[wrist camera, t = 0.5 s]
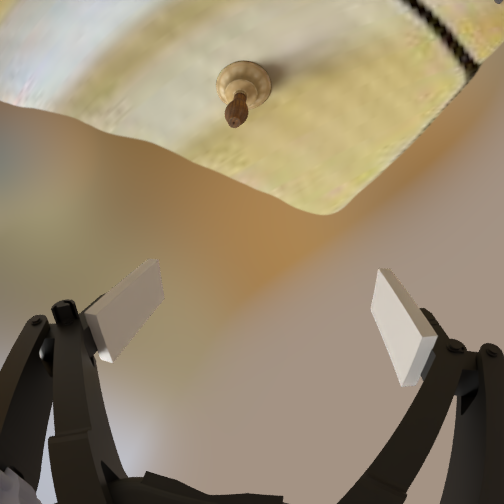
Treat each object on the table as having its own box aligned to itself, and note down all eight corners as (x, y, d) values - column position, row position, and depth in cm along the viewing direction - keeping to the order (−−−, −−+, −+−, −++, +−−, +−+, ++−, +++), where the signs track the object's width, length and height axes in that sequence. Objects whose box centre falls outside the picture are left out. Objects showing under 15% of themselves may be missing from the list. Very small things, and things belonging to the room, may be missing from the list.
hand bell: (263, 55, 32) (261, 76, 22) (276, 103, 38) (280, 148, 28) (209, 69, 34) (179, 99, 23) (225, 114, 40) (207, 164, 29)
